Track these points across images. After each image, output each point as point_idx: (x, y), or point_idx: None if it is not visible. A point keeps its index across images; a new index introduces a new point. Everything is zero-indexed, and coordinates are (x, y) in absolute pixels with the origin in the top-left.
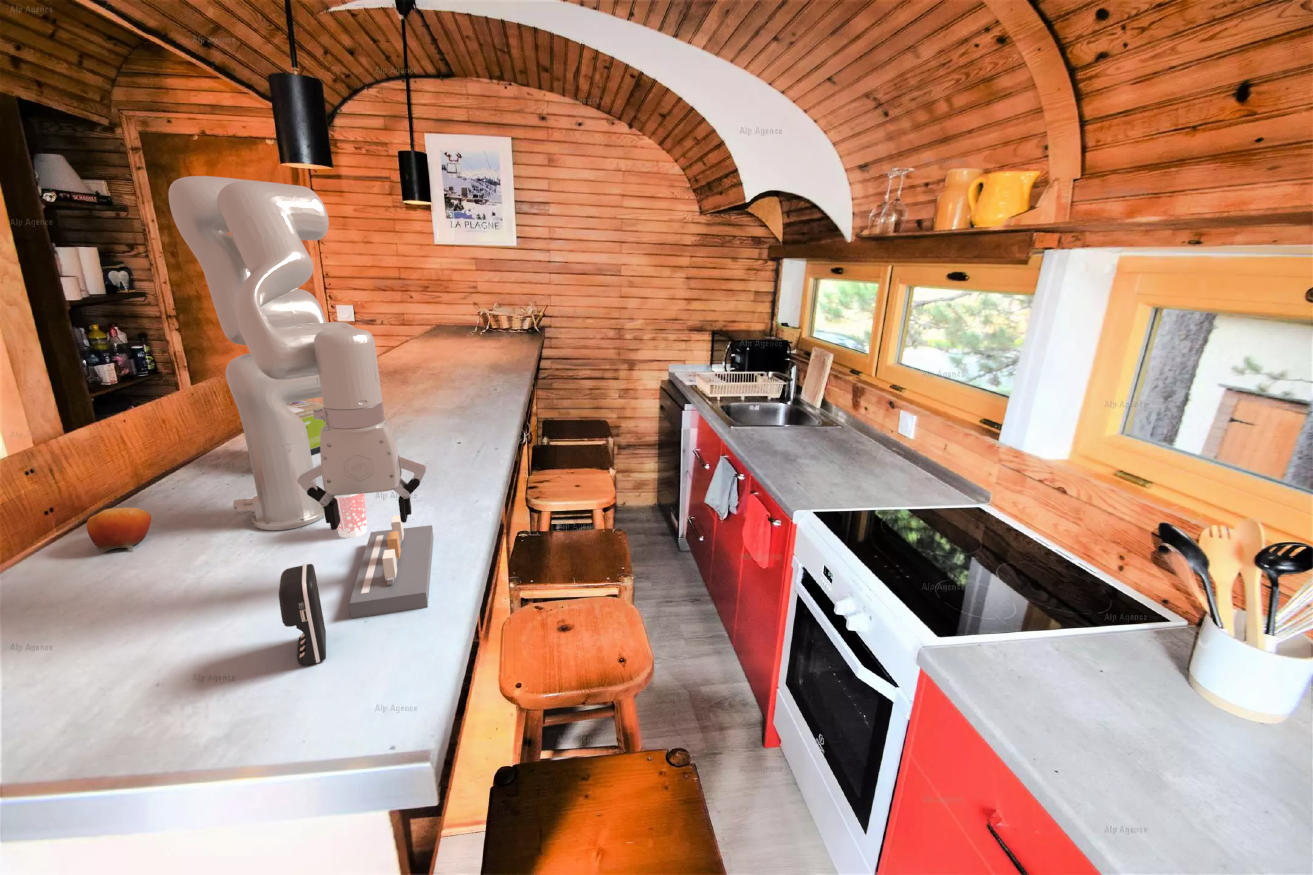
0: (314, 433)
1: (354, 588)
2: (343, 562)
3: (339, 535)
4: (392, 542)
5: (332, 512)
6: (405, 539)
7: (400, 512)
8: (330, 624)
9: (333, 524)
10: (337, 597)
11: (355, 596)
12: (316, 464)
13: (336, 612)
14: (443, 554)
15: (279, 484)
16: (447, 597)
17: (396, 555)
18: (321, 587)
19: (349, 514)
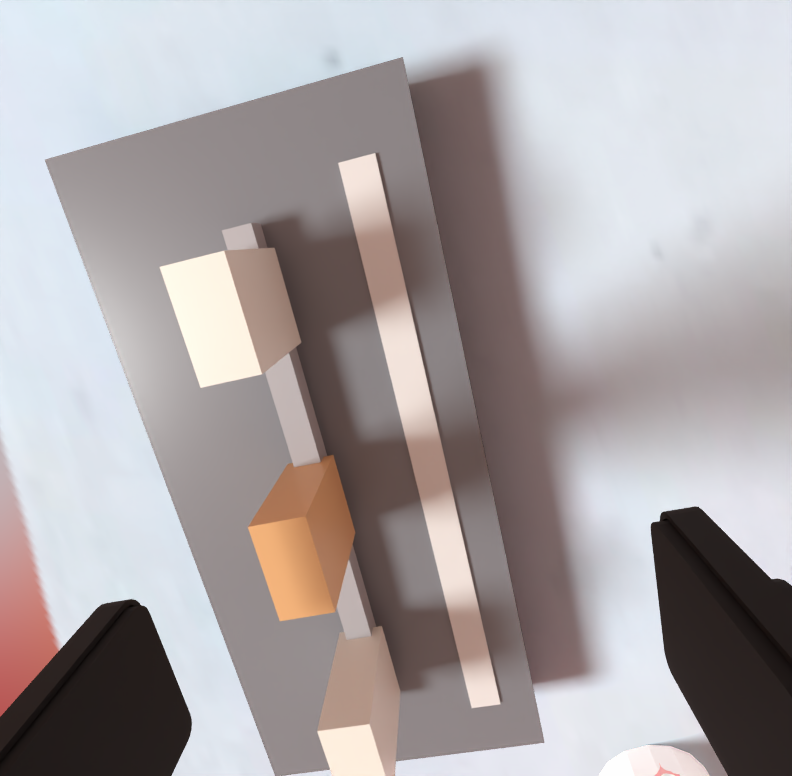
0: None
1: (431, 215)
2: (611, 557)
3: (702, 765)
4: (282, 508)
5: (765, 639)
6: None
7: (78, 672)
8: (489, 37)
9: (692, 534)
10: (538, 272)
11: (395, 130)
12: None
13: (497, 143)
14: (200, 589)
15: None
16: (46, 248)
17: (292, 470)
18: (641, 360)
19: None
